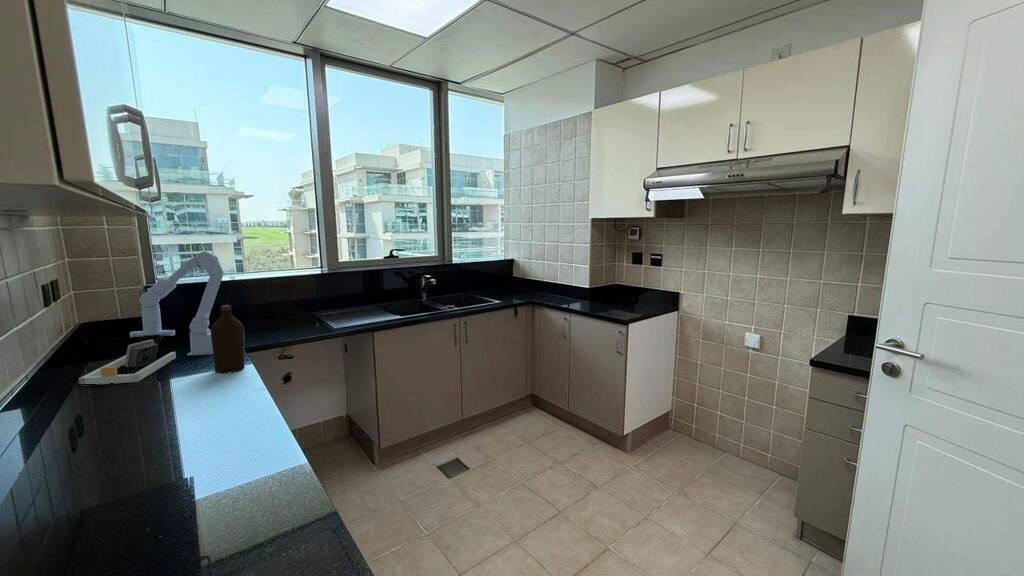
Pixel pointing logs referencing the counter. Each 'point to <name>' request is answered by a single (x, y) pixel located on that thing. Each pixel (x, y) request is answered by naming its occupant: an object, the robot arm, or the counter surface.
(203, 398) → the counter surface
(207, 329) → the robot arm
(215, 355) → the olive oil
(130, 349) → the electrical switch
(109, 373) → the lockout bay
